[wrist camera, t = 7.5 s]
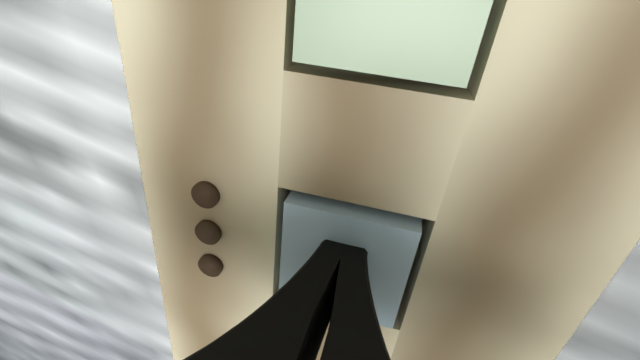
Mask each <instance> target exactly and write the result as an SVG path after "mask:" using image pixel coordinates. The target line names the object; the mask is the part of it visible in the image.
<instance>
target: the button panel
mask: <svg viewBox="0 0 640 360" xmlns="http://www.w3.org/2000/svg"><path fill="white" fill-rule="evenodd" d="M112 6H113V12H114V17H115V23H116V29H117V35H118V41H119V46H120V52H121V58H122V64H123V70H124V75H125V81H126V87H127V93H128V99H129V104H130V110H131V116H132V122H133V128H134V133H135V139H136V145H137V151H138V157H139V162H140V168H141V174H142V180H143V186H144V191H145V197H146V203H147V209H148V214H149V220H150V226H151V232H152V238H153V243H154V249H155V255H156V261H157V267H158V272H159V278H160V284H161V290H162V296H163V301H164V307H165V313H166V319H167V325H168V330H169V336H170V342H171V348H172V354H173V359H174V360H183V359H185V358H186V357H188V356H190V355H191V354H193V353H195V352H196V351H198V350H200V349H202V348H203V347H205V346H206V345H208V344H210V343H211V342H213V341H214V340H216V339H217V338H219V337H220V336H222V335H223V334H224V333H226V332H227V331H229V330H230V329H231V328H233V327H234V326H236V325H237V324H239V323H240V322H241V321H243V320H244V319H245V318H246V317H248V316H249V315H250V314H252V313H253V312H254V311H255V310H257V309H258V308H259V307H260V306H261V305H263V304H264V303H265V302H266V301H267V300H268V299H269V298H271V297H272V296H273V295H274V294H275V293H276V292H277V291H278V290H279V276H280V259H281V242H282V226H283V209H284V201H285V200H286V198H287V197H288V195H289V194H290V192H291V190H294V191H298V192H303V193H308V194H312V195H317V196H321V197H326V198H331V199H335V200H340V201H345V202H349V203H354V204H358V205H363V206H368V207H372V208H377V209H381V210H386V211H391V212H395V213H400V214H404V215H409V216H414V217H418V218H423V220H422V235H421V238H420V241H419V244H418V248H417V251H416V254H415V257H414V261H413V264H412V267H411V270H410V274H409V277H408V280H407V283H406V287H405V290H404V293H403V296H402V300H401V303H400V306H399V309H398V313H397V316H396V319H395V322H394V326H393V329H391V328H388V327H384V326H380V328H381V332H382V335H383V338H384V342H385V345H386V348H387V350H388V353H389V356H390V359H391V360H555V359H556V358H557V356H558V355H559V353H560V352H561V350H562V349H563V348H564V346H565V345H566V343H567V342H568V340H569V339H570V338H571V336H572V335H573V333H574V332H575V330H576V329H577V328H578V326H579V325H580V323H581V322H582V321H583V319H584V318H585V316H586V315H587V313H588V312H589V311H590V309H591V308H592V306H593V305H594V303H595V302H596V301H597V299H598V298H599V296H600V295H601V293H602V292H603V291H604V289H605V288H606V286H607V285H608V283H609V282H610V281H611V279H612V278H613V276H614V275H615V274H616V272H617V271H618V269H619V268H620V266H621V265H622V264H623V262H624V261H625V259H626V258H627V256H628V255H629V254H630V252H631V251H632V249H633V248H634V246H635V245H636V244H637V242H638V241H639V239H640V0H494V1H493V4H492V7H491V11H490V14H489V17H488V20H487V24H486V27H485V30H484V33H483V37H482V40H481V43H480V46H479V50H478V53H477V56H476V59H475V63H474V66H473V69H472V72H471V76H470V79H469V82H468V85H467V89H466V88H460V87H453V86H447V85H440V84H434V83H427V82H421V81H414V80H408V79H401V78H395V77H389V76H382V75H376V74H369V73H363V72H356V71H350V70H343V69H337V68H330V67H324V66H317V65H311V64H305V63H298V62H292V56H293V39H294V23H295V6H296V0H112ZM329 322H330V321H329ZM328 328H329V324H328V327H327V330H326V333H325V335H324V338H323V341H322V344H321V346H320V349H319V352H318V355H317V358H316V360H320V358H321V354H322V351H323V347H324V343H325V340H326V336H327V333H328Z"/></svg>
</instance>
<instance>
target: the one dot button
mask: <svg viewBox="0 0 640 360" xmlns="http://www.w3.org/2000/svg"><path fill="white" fill-rule="evenodd" d="M493 1H494V0H296V6H295V23H294V39H293V56H292V62H298V63H305V64H311V65H317V66H324V67H330V68H337V69H343V70H350V71H356V72H363V73H369V74H376V75H382V76H389V77H395V78H401V79H408V80H414V81H421V82H427V83H434V84H440V85H447V86H453V87H460V88H466V89H467V85H468V82H469V79H470V76H471V72H472V69H473V66H474V63H475V59H476V56H477V53H478V50H479V46H480V43H481V40H482V37H483V33H484V30H485V27H486V24H487V20H488V17H489V14H490V11H491V7H492V4H493Z"/></svg>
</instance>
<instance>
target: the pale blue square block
mask: <svg viewBox="0 0 640 360" xmlns="http://www.w3.org/2000/svg"><path fill="white" fill-rule="evenodd" d="M421 235H422V218H418V217H414V216H409V215H404V214H400V213H395V212H391V211H386V210H381V209H377V208H372V207H368V206H363V205H358V204H354V203H349V202H345V201H340V200H335V199H331V198H326V197H321V196H317V195H312V194H308V193H303V192H298V191H294V190H291V192H290V194H289V195H288V197H287V198H286V200H285V201H284V209H283V226H282V242H281V259H280V276H279V289H280V288H281V287H282V286H284V285H285V284H286V283H287V282H288V281H289V280H290V279H291V278H292V277H293V275H294V274H295V273H296V272H297V271H298V270H299V269H300V268H301V267H302V266H303V265H304V264H305V263H306V261H307V260H308V259H309V258H310V257H311V256H312V254H313V253H314V252H315V251H316V249H317V248H318V247H319V245H320V244H321V242H322V241H324V240H326V239H327V240H331V241H335V242H339V243H344V244H348V245H352V246H356V247H361V248H365V249H366V251H367V252H368V255H367V263H368V274H369V281H370V287H371V292H372V297H373V301H374V306H375V310H376V314H377V318H378V321H379V325H380V326H384V327H388V328H391V329H393V326H394V322H395V319H396V316H397V313H398V309H399V306H400V303H401V300H402V296H403V293H404V290H405V287H406V283H407V280H408V277H409V274H410V270H411V267H412V264H413V261H414V257H415V254H416V251H417V248H418V244H419V241H420V238H421Z"/></svg>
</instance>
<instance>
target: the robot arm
mask: <svg viewBox="0 0 640 360" xmlns="http://www.w3.org/2000/svg"><path fill="white" fill-rule="evenodd" d="M367 255H368V252H367V251H366V249H365V248H361V247H356V246H352V245H348V244H344V243H339V242H335V241H331V240H327V239H326V240H324V241H322V242H321V244H320V245H319V247H318V248H317V249H316V251H315V252H314V253H313V254H312V256H311V257H310V258H309V259H308V260H307V261H306V263H305V264H304V265H303V266H302V267H301V268H300V269H299V270H298V271H297V272H296V273H295V274H294V275H293V277H292V278H291V279H290V280H289V281H288V282H287V283H286V284H285V285H284V286H282V287H281V288H280V289H279V290H278V291H277V292H276V293H275V294H274V295H273V296H272V297H271V298H269V299H268V300H267V301H266V302H265V303H264V304H263V305H261V306H260V307H259V308H258V309H257V310H255V311H254V312H253V313H252V314H250V315H249V316H248V317H246V318H245V319H244V320H243V321H241V322H240V323H239V324H237V325H236V326H234V327H233V328H231V329H230V330H229V331H227V332H226V333H224V334H223V335H222V336H220V337H219V338H217V339H216V340H214V341H213V342H211V343H210V344H208V345H206V346H205V347H203V348H202V349H200V350H198V351H196V352H195V353H193V354H191V355H190V356H188V357H186V358H185V359H183V360H316V358H317V355H318V352H319V349H320V346H321V344H322V341H323V338H324V335H325V333H326V330H327V327H328V324H329V328H328V333H327V336H326V340H325V343H324V347H323V351H322V354H321V358H320V360H391V359H390V356H389V353H388V350H387V348H386V345H385V342H384V338H383V335H382V332H381V328H380V325H379V321H378V318H377V314H376V310H375V306H374V301H373V297H372V292H371V287H370V281H369V274H368V263H367ZM329 321H330V322H329Z"/></svg>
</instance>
